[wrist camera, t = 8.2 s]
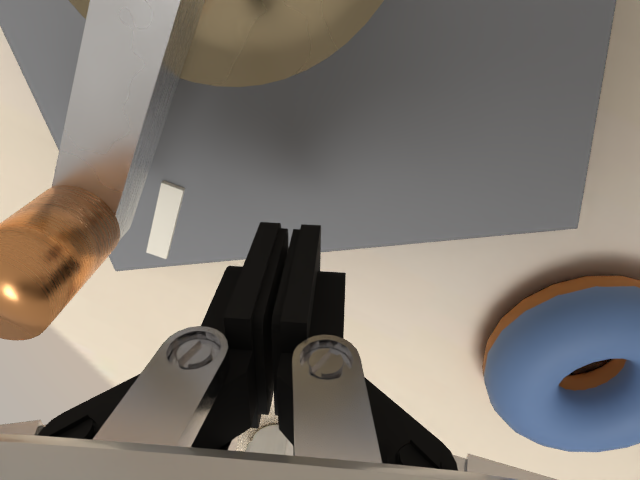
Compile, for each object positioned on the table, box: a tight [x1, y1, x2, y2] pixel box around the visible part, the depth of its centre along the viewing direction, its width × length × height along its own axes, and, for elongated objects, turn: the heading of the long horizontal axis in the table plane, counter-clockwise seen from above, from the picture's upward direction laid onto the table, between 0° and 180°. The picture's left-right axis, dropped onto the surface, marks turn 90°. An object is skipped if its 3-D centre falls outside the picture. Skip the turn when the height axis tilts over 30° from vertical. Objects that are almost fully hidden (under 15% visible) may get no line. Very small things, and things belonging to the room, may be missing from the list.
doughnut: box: [482, 276, 640, 452], centre depth 21 cm, size 10×10×5 cm
